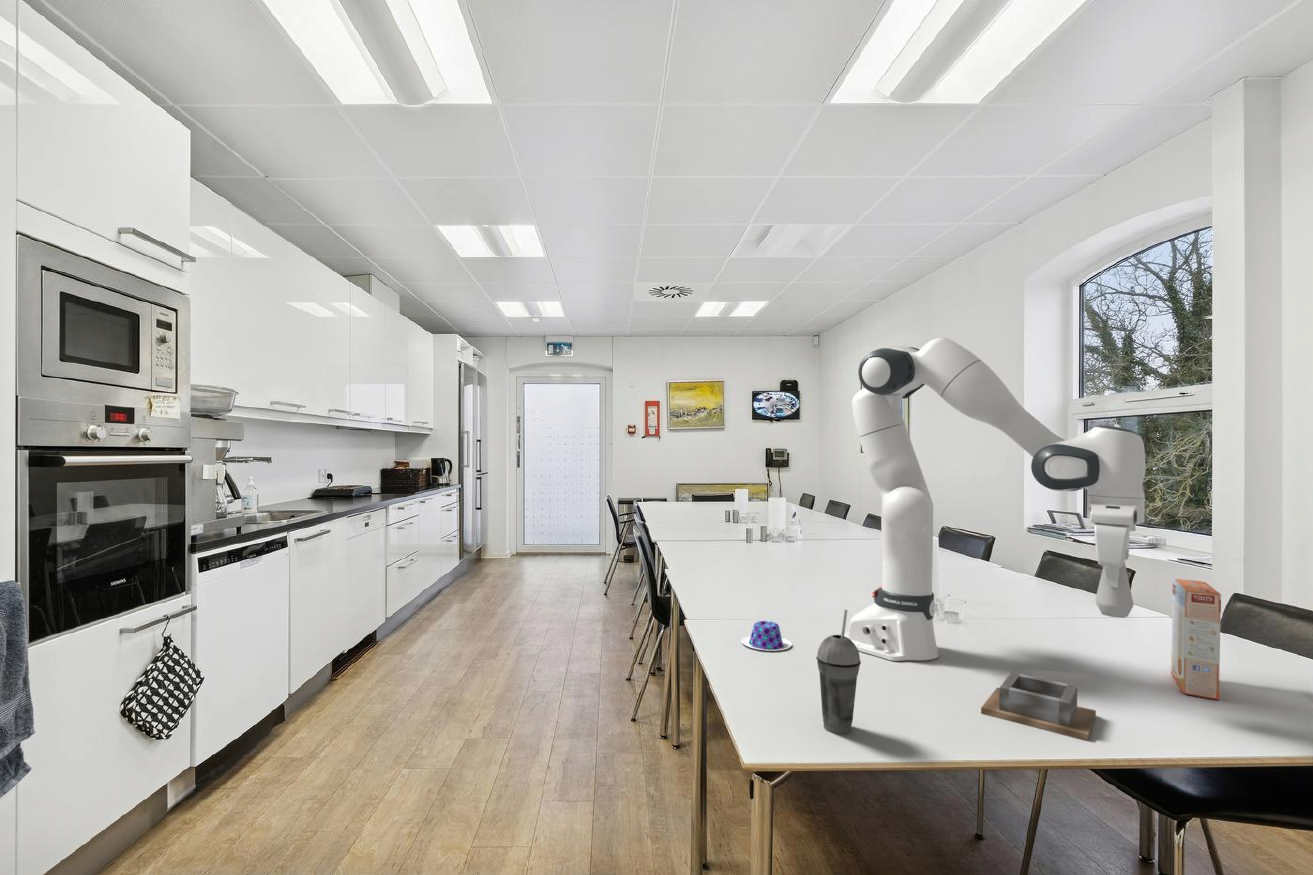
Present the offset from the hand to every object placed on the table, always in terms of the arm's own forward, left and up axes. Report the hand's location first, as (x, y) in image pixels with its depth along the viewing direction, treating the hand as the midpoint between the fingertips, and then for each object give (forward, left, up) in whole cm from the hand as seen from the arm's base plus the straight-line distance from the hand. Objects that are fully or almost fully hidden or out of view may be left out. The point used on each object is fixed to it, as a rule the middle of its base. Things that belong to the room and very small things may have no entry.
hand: (1113, 584), depth 120 cm
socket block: (-10, -15, -23) cm, 29 cm away
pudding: (-67, -13, -23) cm, 72 cm away
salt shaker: (0, 0, -6) cm, 6 cm away
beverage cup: (-35, -45, -23) cm, 61 cm away
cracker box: (+12, +23, -23) cm, 35 cm away
